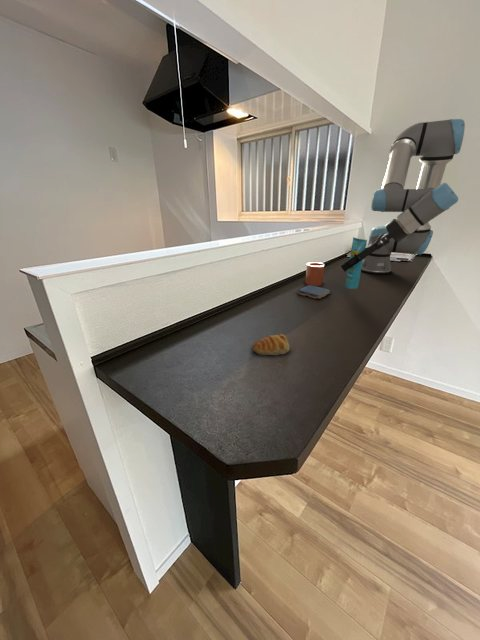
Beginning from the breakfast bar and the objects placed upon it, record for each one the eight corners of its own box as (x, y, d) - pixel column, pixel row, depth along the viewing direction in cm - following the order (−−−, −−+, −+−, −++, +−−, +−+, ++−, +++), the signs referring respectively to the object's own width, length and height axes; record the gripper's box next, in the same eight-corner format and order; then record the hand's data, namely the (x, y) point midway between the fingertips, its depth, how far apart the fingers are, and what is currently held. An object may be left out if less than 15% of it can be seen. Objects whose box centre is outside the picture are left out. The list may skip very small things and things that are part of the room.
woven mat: (331, 293, 111) (331, 289, 110) (318, 300, 104) (319, 295, 103) (308, 288, 117) (309, 283, 116) (296, 294, 110) (296, 289, 109)
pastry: (258, 359, 66) (258, 346, 65) (248, 346, 72) (249, 334, 70) (291, 353, 69) (292, 340, 67) (279, 341, 75) (280, 329, 73)
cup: (308, 280, 128) (310, 261, 124) (324, 282, 124) (327, 263, 120) (302, 284, 122) (304, 264, 118) (318, 287, 118) (321, 267, 114)
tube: (340, 285, 109) (347, 237, 101) (349, 283, 111) (357, 236, 102) (353, 290, 103) (363, 240, 94) (363, 289, 105) (373, 239, 96)
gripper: (407, 238, 83) (344, 280, 99) (410, 231, 96) (355, 269, 112) (392, 219, 83) (332, 264, 99) (398, 215, 97) (344, 255, 112)
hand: (344, 267), depth 105 cm, fingers closed on tube, 5 cm apart
